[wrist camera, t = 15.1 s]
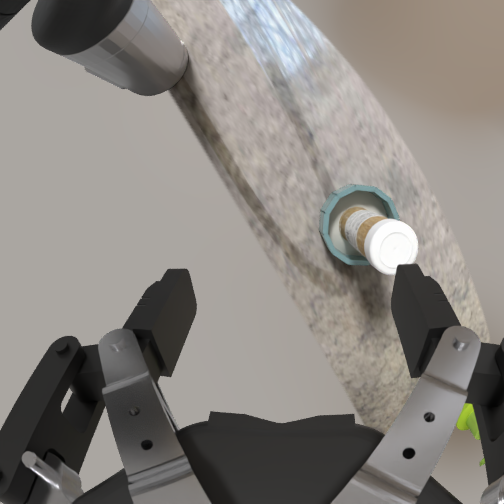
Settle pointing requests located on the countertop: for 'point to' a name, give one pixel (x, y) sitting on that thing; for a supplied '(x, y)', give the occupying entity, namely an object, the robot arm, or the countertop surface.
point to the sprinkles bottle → (379, 239)
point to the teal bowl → (338, 205)
